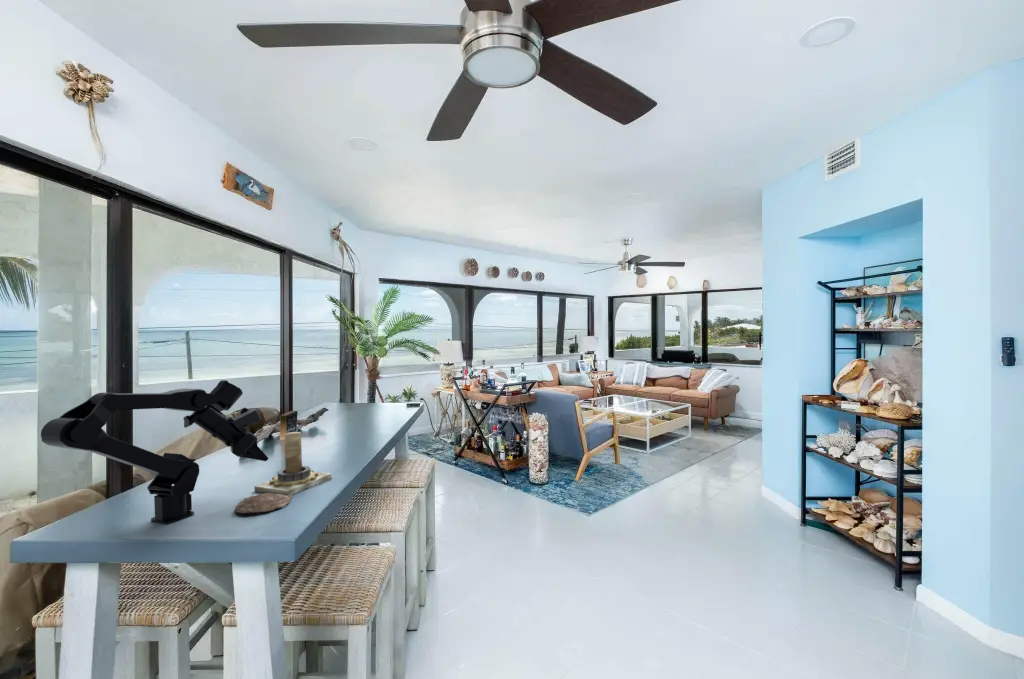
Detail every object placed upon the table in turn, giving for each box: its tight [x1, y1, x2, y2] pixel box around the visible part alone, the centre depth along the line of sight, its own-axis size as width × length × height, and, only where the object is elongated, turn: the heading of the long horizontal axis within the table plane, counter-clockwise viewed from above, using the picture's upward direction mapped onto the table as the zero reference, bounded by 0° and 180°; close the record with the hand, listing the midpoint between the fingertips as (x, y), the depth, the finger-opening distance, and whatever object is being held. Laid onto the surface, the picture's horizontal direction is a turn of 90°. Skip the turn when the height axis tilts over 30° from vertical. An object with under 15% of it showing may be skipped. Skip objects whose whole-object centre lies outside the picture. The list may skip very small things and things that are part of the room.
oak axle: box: [284, 431, 303, 474], centre depth 131 cm, size 4×4×13 cm
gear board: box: [253, 465, 333, 496], centre depth 132 cm, size 16×13×4 cm
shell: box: [234, 493, 293, 517], centre depth 115 cm, size 12×13×4 cm
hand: (264, 456), depth 126 cm, fingers open, 9 cm apart
